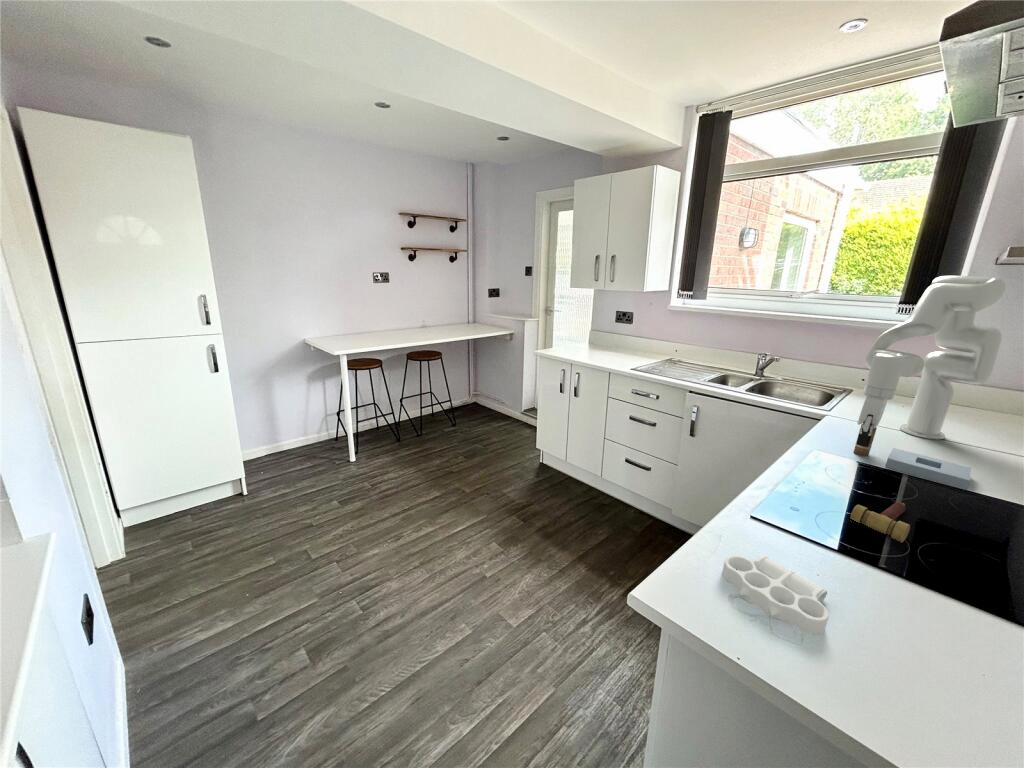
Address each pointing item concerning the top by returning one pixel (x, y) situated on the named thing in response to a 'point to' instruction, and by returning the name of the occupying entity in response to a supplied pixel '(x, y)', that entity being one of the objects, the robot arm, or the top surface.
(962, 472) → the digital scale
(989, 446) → the top surface
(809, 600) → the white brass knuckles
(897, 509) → the gavel
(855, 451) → the peg
